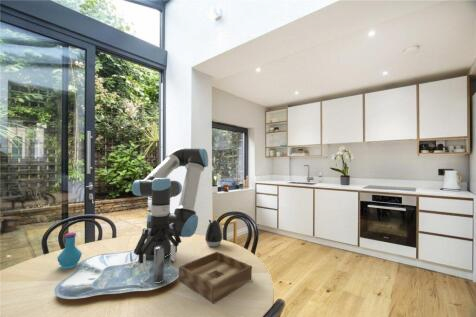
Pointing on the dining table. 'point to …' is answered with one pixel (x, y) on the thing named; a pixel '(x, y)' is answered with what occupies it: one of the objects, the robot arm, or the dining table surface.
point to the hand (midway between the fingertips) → (158, 265)
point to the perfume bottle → (69, 253)
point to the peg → (158, 263)
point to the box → (212, 265)
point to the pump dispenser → (213, 234)
